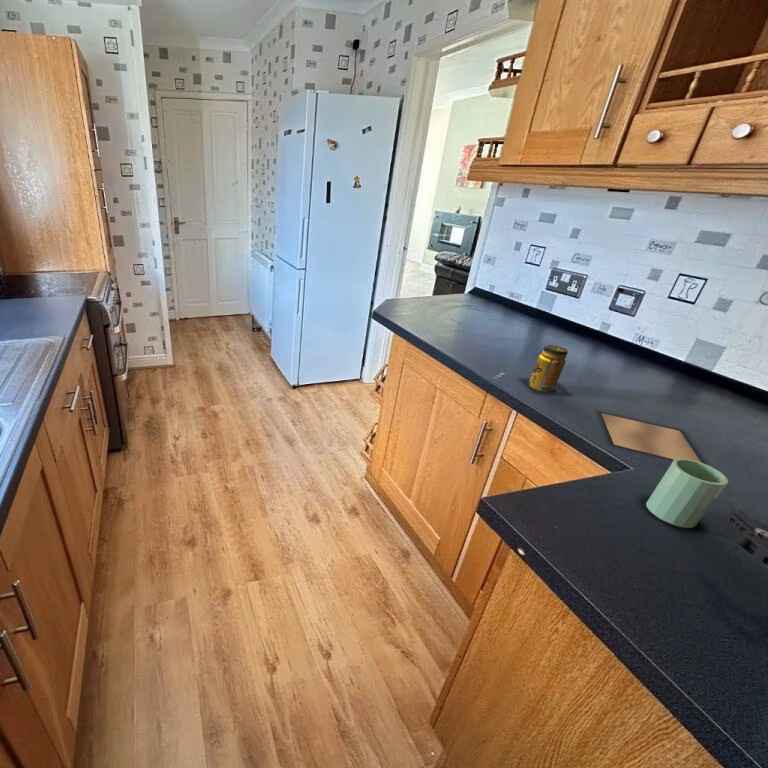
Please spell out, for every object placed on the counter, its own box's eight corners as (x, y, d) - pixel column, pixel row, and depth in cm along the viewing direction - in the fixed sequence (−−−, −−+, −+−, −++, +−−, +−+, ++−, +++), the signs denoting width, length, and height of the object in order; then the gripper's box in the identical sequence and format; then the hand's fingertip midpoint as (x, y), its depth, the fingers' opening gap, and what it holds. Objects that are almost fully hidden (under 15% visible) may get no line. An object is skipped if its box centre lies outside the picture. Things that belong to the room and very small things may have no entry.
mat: (678, 432, 96) (679, 430, 96) (703, 468, 84) (704, 467, 84) (600, 414, 102) (601, 413, 102) (613, 446, 90) (614, 444, 90)
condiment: (521, 381, 117) (536, 342, 111) (552, 383, 116) (569, 344, 111) (534, 394, 110) (550, 353, 105) (567, 396, 110) (585, 355, 104)
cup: (686, 510, 74) (718, 466, 69) (700, 535, 69) (735, 490, 64) (640, 496, 76) (667, 453, 72) (650, 520, 71) (680, 475, 66)
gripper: (1022, 621, 41) (842, 504, 55) (858, 599, 42) (723, 491, 57) (959, 664, 44) (804, 543, 59) (809, 642, 46) (694, 530, 60)
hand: (765, 518), depth 58 cm, fingers open, 8 cm apart
